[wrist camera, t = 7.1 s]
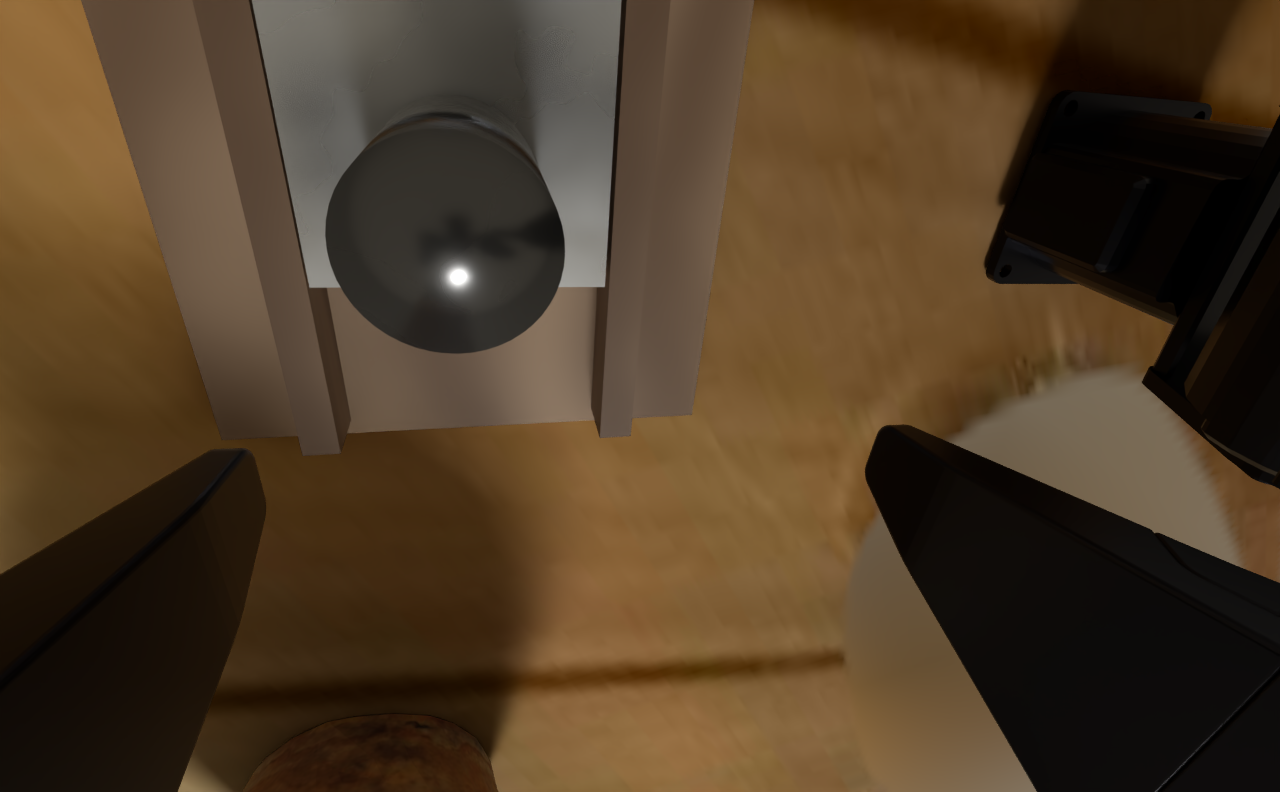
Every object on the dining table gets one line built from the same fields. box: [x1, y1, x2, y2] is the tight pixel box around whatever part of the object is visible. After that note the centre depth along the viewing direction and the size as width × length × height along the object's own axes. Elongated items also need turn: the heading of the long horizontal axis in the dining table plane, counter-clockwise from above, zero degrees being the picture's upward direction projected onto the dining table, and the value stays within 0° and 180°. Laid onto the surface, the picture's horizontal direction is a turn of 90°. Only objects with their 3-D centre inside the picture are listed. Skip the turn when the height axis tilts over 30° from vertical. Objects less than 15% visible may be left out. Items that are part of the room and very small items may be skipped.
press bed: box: [81, 0, 754, 456], centre depth 16 cm, size 15×16×3 cm
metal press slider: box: [252, 0, 621, 354], centre depth 12 cm, size 7×8×7 cm
